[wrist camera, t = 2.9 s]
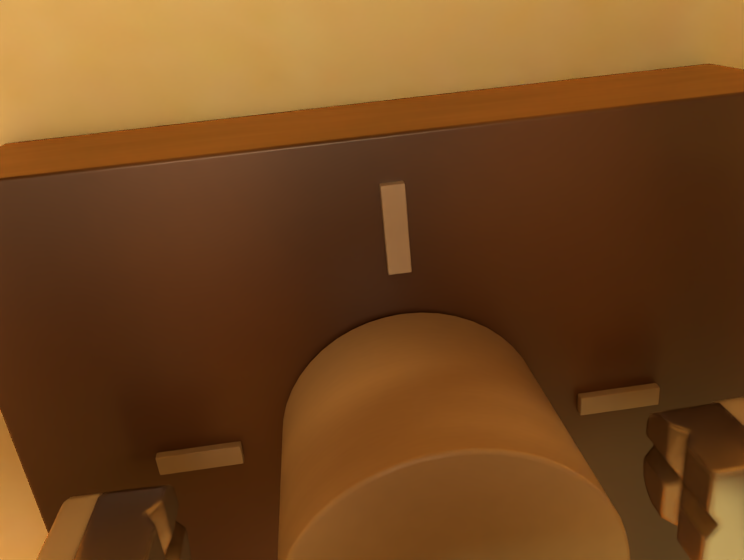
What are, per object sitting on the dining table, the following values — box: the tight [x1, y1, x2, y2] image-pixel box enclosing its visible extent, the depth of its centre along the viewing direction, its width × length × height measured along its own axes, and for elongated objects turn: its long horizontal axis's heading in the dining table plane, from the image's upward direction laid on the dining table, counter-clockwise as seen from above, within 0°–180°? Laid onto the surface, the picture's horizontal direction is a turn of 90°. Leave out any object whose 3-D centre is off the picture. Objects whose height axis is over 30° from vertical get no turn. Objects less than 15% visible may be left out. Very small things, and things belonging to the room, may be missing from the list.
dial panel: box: [0, 64, 744, 560], centre depth 13 cm, size 13×10×3 cm
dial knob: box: [278, 312, 630, 560], centre depth 10 cm, size 4×4×4 cm
